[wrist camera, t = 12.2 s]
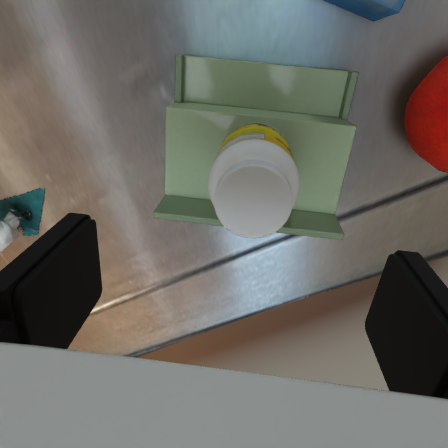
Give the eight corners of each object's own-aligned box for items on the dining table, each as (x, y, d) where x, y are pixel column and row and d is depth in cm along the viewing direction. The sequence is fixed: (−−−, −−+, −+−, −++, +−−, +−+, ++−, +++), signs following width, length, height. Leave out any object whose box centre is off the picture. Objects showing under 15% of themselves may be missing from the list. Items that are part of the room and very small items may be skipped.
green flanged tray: (183, 55, 33) (152, 52, 23) (348, 71, 33) (388, 75, 23) (179, 178, 39) (153, 218, 29) (321, 193, 38) (343, 240, 28)
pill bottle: (295, 182, 31) (313, 241, 21) (229, 196, 32) (215, 258, 22) (283, 112, 28) (297, 140, 18) (211, 130, 29) (187, 165, 19)
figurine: (7, 278, 46) (-43, 300, 38) (-26, 216, 45) (-84, 226, 37) (81, 245, 43) (42, 261, 36) (48, 178, 42) (1, 182, 35)
